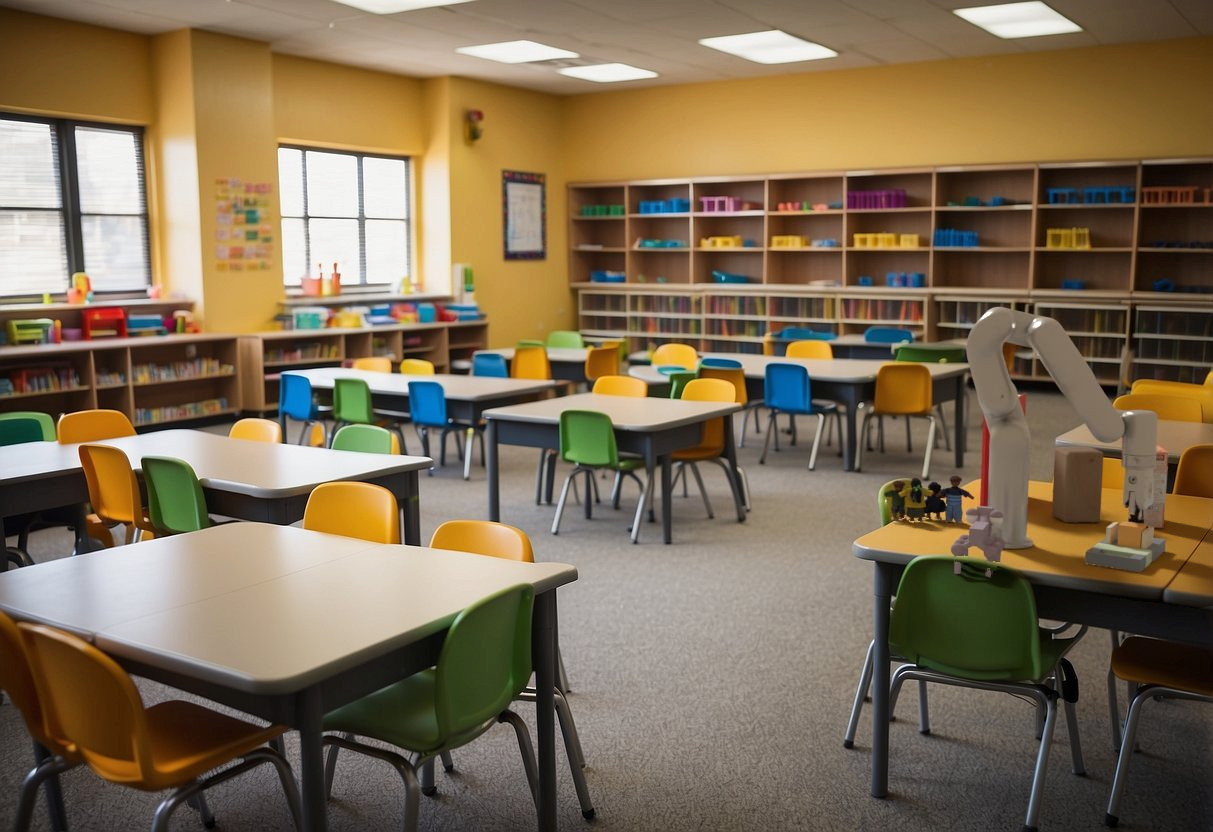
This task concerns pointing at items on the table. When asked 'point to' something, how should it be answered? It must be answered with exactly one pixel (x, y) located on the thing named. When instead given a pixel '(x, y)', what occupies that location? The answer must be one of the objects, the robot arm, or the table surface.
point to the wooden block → (1077, 484)
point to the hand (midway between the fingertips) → (1135, 534)
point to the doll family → (928, 500)
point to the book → (986, 456)
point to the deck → (1125, 551)
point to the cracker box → (1158, 491)
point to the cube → (1130, 534)
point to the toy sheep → (980, 536)
